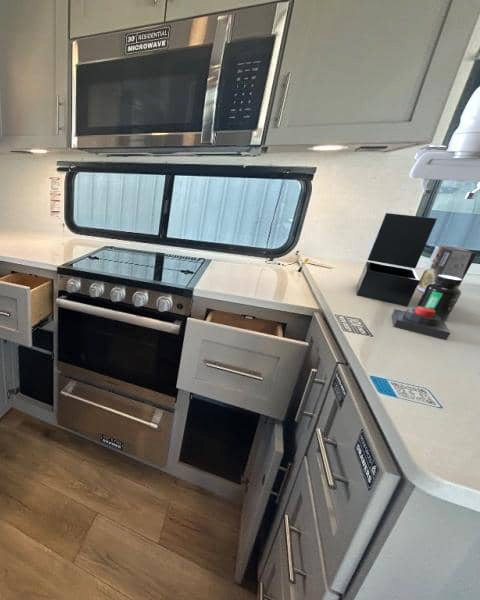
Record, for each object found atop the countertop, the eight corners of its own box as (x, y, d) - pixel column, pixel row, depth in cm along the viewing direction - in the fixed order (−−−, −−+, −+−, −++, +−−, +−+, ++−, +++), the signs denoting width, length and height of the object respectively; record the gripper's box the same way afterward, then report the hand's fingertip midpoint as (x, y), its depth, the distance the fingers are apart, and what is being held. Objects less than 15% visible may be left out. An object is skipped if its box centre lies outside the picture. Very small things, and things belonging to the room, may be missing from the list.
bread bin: (407, 307, 102) (420, 280, 98) (356, 295, 109) (366, 270, 105) (402, 294, 113) (414, 269, 109) (357, 284, 120) (366, 261, 117)
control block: (439, 327, 89) (446, 314, 87) (446, 340, 82) (454, 326, 80) (391, 315, 94) (397, 303, 93) (393, 327, 87) (400, 313, 86)
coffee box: (453, 299, 110) (478, 253, 104) (429, 296, 112) (452, 250, 106) (436, 291, 118) (459, 247, 112) (414, 287, 120) (436, 244, 114)
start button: (431, 315, 87) (434, 309, 86) (433, 319, 84) (436, 313, 84) (413, 310, 89) (416, 305, 88) (414, 314, 86) (417, 308, 86)
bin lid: (437, 218, 105) (436, 218, 105) (386, 212, 112) (385, 213, 112) (415, 268, 109) (414, 268, 110) (367, 260, 116) (367, 260, 117)
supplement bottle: (427, 320, 93) (448, 280, 88) (407, 310, 99) (426, 272, 95) (453, 322, 92) (475, 282, 88) (432, 312, 99) (452, 274, 94)
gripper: (421, 144, 96) (400, 194, 101) (529, 145, 84) (499, 201, 90) (418, 145, 100) (398, 193, 106) (521, 147, 89) (493, 200, 94)
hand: (446, 197), depth 98 cm, fingers open, 8 cm apart
